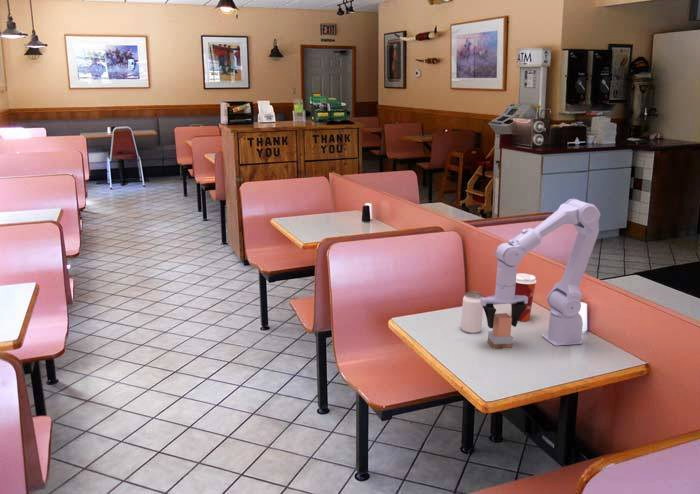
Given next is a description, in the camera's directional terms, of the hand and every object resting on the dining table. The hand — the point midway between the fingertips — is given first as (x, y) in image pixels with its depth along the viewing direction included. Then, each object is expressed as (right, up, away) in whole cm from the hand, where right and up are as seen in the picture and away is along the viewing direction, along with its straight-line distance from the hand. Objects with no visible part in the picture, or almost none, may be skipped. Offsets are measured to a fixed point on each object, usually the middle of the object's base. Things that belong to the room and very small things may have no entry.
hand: (501, 326), depth 192 cm
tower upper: (0, -4, +1) cm, 5 cm away
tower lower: (0, -6, +1) cm, 7 cm away
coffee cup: (+12, 0, +24) cm, 27 cm away
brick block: (0, -2, 0) cm, 3 cm away
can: (-7, -3, +13) cm, 15 cm away
